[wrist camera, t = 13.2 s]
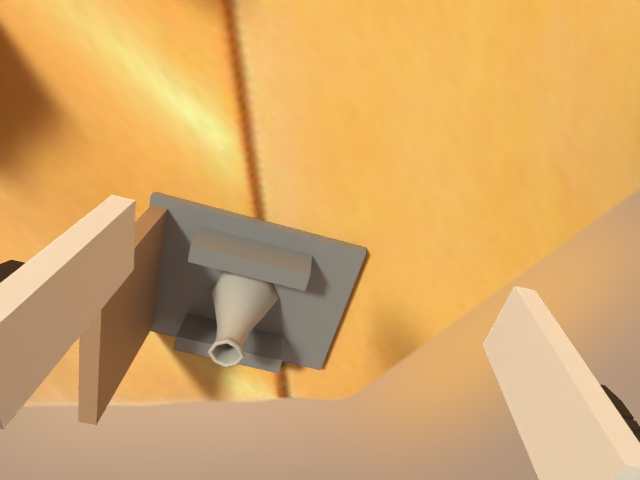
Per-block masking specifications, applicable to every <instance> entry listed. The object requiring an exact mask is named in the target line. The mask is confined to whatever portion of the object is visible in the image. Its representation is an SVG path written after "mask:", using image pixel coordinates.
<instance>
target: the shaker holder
mask: <svg viewBox="0 0 640 480" xmlns="http://www.w3.org/2000/svg"><path fill="white" fill-rule="evenodd" d="M366 253H367V251H366V248H365V247H361V246H357V245H354V244H350V243H346V242H342V241H339V240H335V239H331V238H327V237H324V236H320V235H316V234H312V233H308V232H305V231H301V230H297V229H293V228H290V227H286V226H282V225H278V224H275V223H271V222H267V221H263V220H259V219H256V218H252V217H248V216H244V215H241V214H237V213H233V212H229V211H226V210H222V209H218V208H214V207H210V206H207V205H203V204H199V203H195V202H192V201H188V200H184V199H180V198H177V197H173V196H169V195H165V194H161V193H158V192H154V193H153V194H152V195H151V198H150V207H149V208H148V209H147V210H146V211H145V212H144V214H143V215H142V216H141V217H140V218H139V219H138V220H137V221H136V222H135V241H134V270H133V271H132V272H131V273H130V275H129V276H128V277H127V278H126V280H125V281H124V282H123V283H122V285H121V286H120V287H119V288H118V289H117V291H116V292H115V293H114V294H113V296H112V297H111V298H110V299H109V300H108V302H107V303H106V304H105V305H104V307H103V308H102V309H101V310H100V312H99V313H98V314H97V315H96V316H95V318H94V319H93V320H92V321H91V323H90V324H89V325H88V326H87V327H86V329H85V330H84V331H83V332H82V334H81V335H80V342H79V413H78V421H79V422H84V423H89V424H94V425H97V423H98V421H99V419H100V417H101V416H102V414H103V412H104V411H105V409H106V407H107V405H108V404H109V402H110V400H111V398H112V397H113V395H114V393H115V391H116V390H117V388H118V386H119V384H120V383H121V381H122V379H123V377H124V376H125V374H126V372H127V370H128V369H129V367H130V365H131V363H132V362H133V360H134V358H135V356H136V355H137V353H138V351H139V349H140V348H141V346H142V344H143V342H144V341H145V339H146V337H147V335H148V334H149V332H150V331H153V332H158V333H162V334H166V335H171V336H175V337H176V340H175V346H174V350H178V351H183V352H187V353H191V354H196V355H200V356H205V357H209V358H211V357H210V355H209V353H208V350H209V349H210V348H211V346H212V345H213V344H214V342H215V340H216V335H217V320H216V313H215V306H214V301H213V297H212V291H211V289H212V287H213V286H214V284H215V283H216V282H217V280H218V279H219V277H220V276H221V275H222V273H223V272H224V271H226V272H230V273H234V274H238V275H242V276H246V277H250V278H254V279H258V280H262V281H266V282H270V283H272V285H273V287H274V289H275V291H276V294H277V296H278V298H279V299H278V300H277V301H276V302H275V304H274V305H273V306H272V307H271V309H270V310H269V311H268V312H267V313H266V315H265V316H264V317H263V318H262V319H261V320H260V321H259V322H258V323H257V324H256V326H255V327H254V328H253V329H252V330H251V332H250V334H249V335H248V337H247V339H246V341H245V343H244V347H243V352H244V355H245V356H244V358H243V359H242V360H241V361H240V362H239V364H240V365H244V366H248V367H253V368H257V369H262V370H266V371H270V372H275V373H278V372H279V369H280V366H281V363H282V361H283V362H287V363H292V364H296V365H300V366H305V367H309V368H313V369H318V370H321V368H322V365H323V363H324V360H325V358H326V355H327V352H328V350H329V347H330V345H331V342H332V340H333V337H334V335H335V332H336V329H337V327H338V324H339V322H340V319H341V317H342V314H343V312H344V309H345V306H346V304H347V301H348V299H349V296H350V294H351V291H352V289H353V286H354V283H355V281H356V278H357V276H358V273H359V271H360V268H361V266H362V263H363V260H364V258H365V255H366Z"/></svg>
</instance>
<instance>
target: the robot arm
mask: <svg viewBox="0 0 640 480" xmlns="http://www.w3.org/2000/svg"><path fill="white" fill-rule="evenodd" d="M134 241H135V200H133V199H128V198H124V197H119V196H115V195H111V196H110V197H109V198H107V199H106V200H105V201H103V202H102V203H101V204H100V205H98V206H97V207H96V208H95V209H93V210H92V211H91V212H90V213H88V214H87V215H86V216H85V217H83V218H82V219H81V220H79V221H78V222H77V223H76V224H74V225H73V226H72V227H71V228H69V229H68V230H67V231H66V232H64V233H63V234H62V235H60V236H59V237H58V238H57V239H55V240H54V241H53V242H52V243H50V244H49V245H48V246H47V247H45V248H44V249H43V250H42V251H40V252H39V253H38V254H36V255H35V256H34V257H33V258H31V259H30V260H29V261H28V262H26V263H24V262H19V261H15V260H10V261H7V262H5V263H2V264H0V429H4V428H5V427H6V426H7V424H8V423H9V422H10V421H11V420H12V418H13V417H14V416H15V415H16V413H17V412H18V411H19V410H20V409H21V407H22V406H23V405H24V404H25V402H26V401H27V400H28V399H29V397H30V396H31V395H32V394H33V393H34V391H35V390H36V389H37V388H38V386H39V385H40V384H41V383H42V382H43V380H44V379H45V378H46V377H47V375H48V374H49V373H50V372H51V370H52V369H53V368H54V367H55V366H56V364H57V363H58V362H59V361H60V359H61V358H62V357H63V356H64V354H65V353H66V352H67V351H68V350H69V348H70V347H71V346H72V345H73V343H74V342H75V341H76V340H77V339H78V337H79V336H80V335H81V334H82V332H83V331H84V330H85V329H86V327H87V326H88V325H89V324H90V323H91V321H92V320H93V319H94V318H95V316H96V315H97V314H98V313H99V312H100V310H101V309H102V308H103V307H104V305H105V304H106V303H107V302H108V300H109V299H110V298H111V297H112V296H113V294H114V293H115V292H116V291H117V289H118V288H119V287H120V286H121V285H122V283H123V282H124V281H125V280H126V278H127V277H128V276H129V275H130V273H131V272H132V271H133V270H134ZM483 347H484V349H485V352H486V354H487V356H488V359H489V361H490V364H491V366H492V369H493V371H494V374H495V376H496V378H497V381H498V383H499V385H500V388H501V390H502V393H503V395H504V398H505V400H506V402H507V404H508V407H509V409H510V412H511V414H512V417H513V419H514V422H515V424H516V426H517V429H518V431H519V434H520V436H521V438H522V441H523V443H524V446H525V448H526V451H527V453H528V455H529V457H530V460H531V462H532V465H533V467H534V470H535V472H536V475H537V477H538V479H539V480H640V426H639V425H638V423H637V422H636V421H634V420H633V416H632V415H631V414H630V412H629V411H628V410H627V408H626V407H625V405H624V404H623V402H622V401H621V400H620V399H619V398H618V397H617V396H616V395H615V394H613V393H612V392H611V391H610V390H609V389H608V388H607V387H606V386H605V385H600V384H599V383H598V382H597V380H596V378H595V377H594V375H593V374H592V373H591V371H590V370H589V368H588V367H587V365H586V364H585V362H584V361H583V360H582V358H581V357H580V355H579V354H578V352H577V351H576V349H575V348H574V346H573V345H572V343H571V342H570V340H569V339H568V338H567V336H566V335H565V333H564V332H563V330H562V329H561V327H560V326H559V324H558V323H557V322H556V320H555V319H554V317H553V316H552V314H551V313H550V311H549V310H548V308H547V307H546V305H545V304H544V302H543V301H542V300H541V298H540V297H539V296H538V294H537V292H536V291H535V290H530V289H526V288H521V287H517V286H514V288H513V290H512V292H511V293H510V295H509V297H508V299H507V301H506V303H505V305H504V306H503V308H502V310H501V312H500V314H499V315H498V317H497V319H496V321H495V323H494V325H493V326H492V328H491V330H490V332H489V334H488V336H487V338H486V339H485V341H484V343H483Z"/></svg>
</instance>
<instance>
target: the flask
mask: <svg viewBox="0 0 640 480" xmlns="http://www.w3.org/2000/svg"><path fill="white" fill-rule="evenodd" d="M211 291H212V297H213V301H214V306H215V313H216V320H217V335H216V340H215V342H214V344H213V345H212V346H211V348H210V349H209V350H208V353H209V355H210V357H211V359H212V360H213V362H215V363H217V364H219V365H221V366H223V367H225V368H226V367H231V366H235V365H238V364H239V362H240V361H241V360H242V359H243V358H244V356H245V355H244V352H243V347H244V343H245V341H246V339H247V337H248V335H249V334H250V332H251V330H252V329H253V328H254V327H255V326H256V324H257V323H258V322H259V321H260V320H261V319H262V318H263V317H264V316H265V315H266V313H267V312H268V311H269V310H270V309H271V307H272V306H273V305H274V304H275V302H276V301H277V300H278V299H279V298H278V296H277V294H276V291H275V289H274V287H273V285H272V283H270V282H266V281H262V280H258V279H254V278H250V277H246V276H242V275H238V274H234V273H230V272H226V271H224V272H223V273H222V275H221V276H220V277H219V279H218V280H217V282H216V283H215V284H214V286H213V287H212V289H211Z"/></svg>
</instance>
